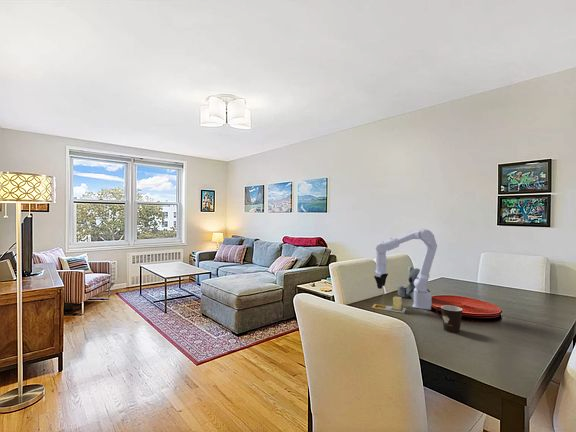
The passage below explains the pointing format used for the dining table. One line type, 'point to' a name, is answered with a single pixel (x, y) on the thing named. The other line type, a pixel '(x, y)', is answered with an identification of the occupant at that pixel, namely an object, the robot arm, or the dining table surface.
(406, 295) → the koala plush
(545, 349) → the dining table surface
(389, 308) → the rail
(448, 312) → the coffee mug
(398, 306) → the brass block
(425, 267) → the robot arm
